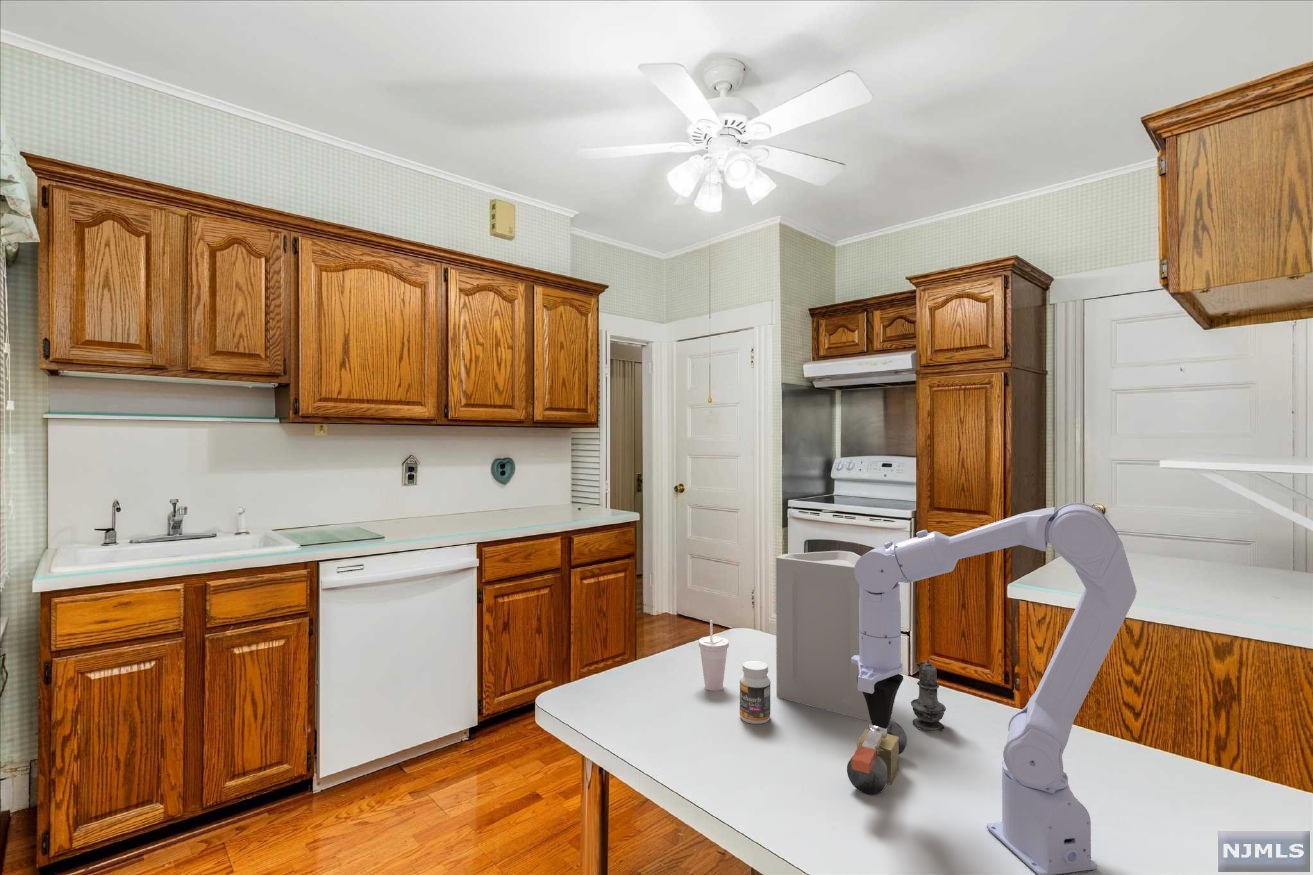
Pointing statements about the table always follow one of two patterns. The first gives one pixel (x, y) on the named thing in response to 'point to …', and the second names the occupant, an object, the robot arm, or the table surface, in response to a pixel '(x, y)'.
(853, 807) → the table surface
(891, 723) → the valve
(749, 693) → the pill bottle
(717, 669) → the smoothie
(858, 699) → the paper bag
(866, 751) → the valve lever
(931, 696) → the salt shaker
